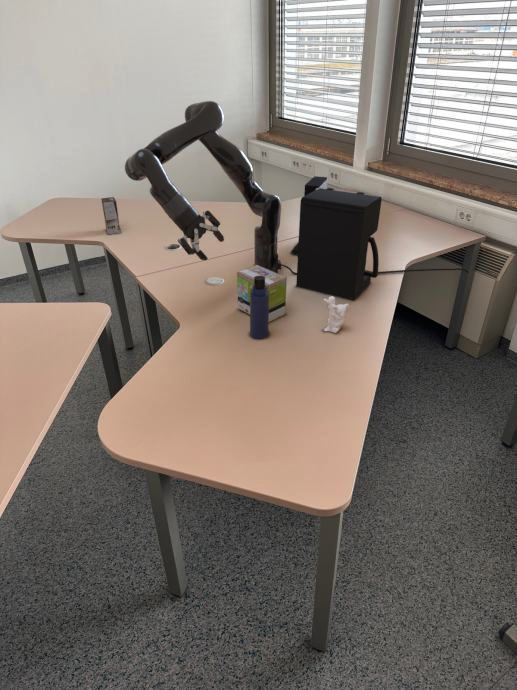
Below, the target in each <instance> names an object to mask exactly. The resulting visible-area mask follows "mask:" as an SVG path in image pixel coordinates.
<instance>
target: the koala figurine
mask: <svg viewBox="0 0 517 690" xmlns="http://www.w3.org/2000/svg"><path fill="white" fill-rule="evenodd" d="M323 301H324V302H325V303H326V304H327V309H328V310H329V313H328V320H327V326H326V327H325V328H324V329H323V331H324V332H331V333H334V334H337V333H338V332H339V331H340V330H341V326H343V325H345V322H346V313H347V310H348V309H349V308H350V303H344V304H342V303H340V304H337V305H336V298H335V296H333V295H330V296H329V297H328V299H327V298H323Z"/></svg>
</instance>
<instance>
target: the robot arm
mask: <svg viewBox="0 0 517 690" xmlns="http://www.w3.org/2000/svg"><path fill="white" fill-rule="evenodd" d="M224 118H225V117H224V111H223V108H222V107H221V105H220V104H219V103H218V102H217V101H213V100H206V101H200V102H194V103H192V104H190V105H188V106H187V107H186V108H185V111H184V120H185V121H184V122H183V123H180V124H179V125H177V126H174V127H172V128H170V129H168V130H166V131H164V132H162V133H161V134H160V135H158V136H157V137H155V138H154V139H153V140H152V141H150V142H149V143H148V144H147V145H146V146H145V147H143V148H141V149H138V150H137V151H135V152H134V153H133V154H132V155H131V156H129V157H128V158H127V159H126V161H125V163H124V172H125V174H126V176H127V177H128V178H129V179H130V180H132V181H137V182H138V181H139V182H140V181H143V180H145V179H147V180H148V182H149V184H150V187H149V191H148V192H149V194H150V195H151V197H152V198H153V199H154V201H156V202H157V203H158V205H159V206H160V207H161V208H162V209H163V211H164V213H165V214H166V215H167V216H168V218H169V219H170V220H171V221H172V222H173V223H174V225H176V227H178V228H179V230H180V231H181V232H182V233H183V235H182V236H181V237H180V238H178V239H177V243H178V244H179V245H180V246H181V247H182V248H183V250H184V251H185V252H186V254H187V255H188V256H192V255H194V254H195V255H196V256H197V257H198V258H199V259H200V261H208V259H209V258H208V256H207V255H206V254H205V253H204V252H203V251H202V249H200V239H202V237H203V236H204V235H206V233H207V232H212V234H213V236H214V237H215V238H216V239H217V240H218V242H220V243H222V242H224V241H225V236H224V235H223V234H222V233H221V231H220V230H219V226H220V225H221V222H220V221H219V220H218V219H217V218H216V217H215V215H214V214H213V213H212V212H211V211H210V210H205V211H203V212H202V214H200V213H199V211H198V210H197V209H196V208H195V207H194V206H193V204H192V203H191V202H190V201H189V200H188V198H187V197H186V196H185V195H184V194H183V193H182V192H181V191H180V190H179V189H178V188H177V187H176V186H175V185H174V183H173V181H171V180H170V178H169V176H168V174H167V172H166V170H165V168H164V166H163V165H164V164H167V163H169V161H171V160H172V159H173V158H175V157H176V156H178V154H180V153H181V152H182V151H183V150H185V149H186V148H188V147H189V146H191V145H192V144H194V143H196V142H197V141H199V142H200V143H201V144H202V145H203V146H204V147H205V148H206V149H207V150H208V151H209V152H208V153H210V154H211V156H212V158H213V159H214V160H215V161H216V162H217V163H218V165H219V166H220V167H221V169H222V170H223V172H224V173H225V174H226V176H227V177H228V178H229V180H230V181H231V183H233V185H234V186H235V188H237V190H238V191H239V192H240V194H241V195H242V197H243V198H244V200H245V202H246V204H247V205H248V207H249V209H250V210H251V212H252V213H253V214H254V215H256V216H258V217H261V224H257V225H256V226H254V233H253V235H254V236H253V237H254V238H253V239H254V240H253V241H254V243H253V244H254V247H253V249H254V258H253V259H254V262H253V266H255V265H258V266H261V267H263V268H265V269H268V270H270V271H273V272H275V273H277V274H279V270H282V267H284V268H286V269H287V270H289V271H290V273H291V274H293V275H296V276H297V272H295V271H293V269H291V267H289V266H288V265H285V264H283V263H282V262H281V259H279V253H278V236H279V235H278V233H279V229H280V226H281V217H282V203H281V199H280V197H279V196H278V195H276V194H273V193H269V192H267V191H265V190H263V189H262V188H261V187H260V185H259V184H258V183H257V181H256V180H255V176H254V169H253V165H252V162H251V161H250V160H249V159H248V157H247V156H246V153H245V152H244V151H243V150H242V149H241V148H240V147H239V146H237V145H236V144H234V143H233V142H231V141H230V140H228V139H227V138H225V137H224V136H222V135H221V134H220V133H219V130H220V129H221V128H222V126H223V124H224ZM206 220H208V221H209V223H210V224H207V223H206ZM188 239H189V241H190V244H189V243H188ZM424 271H426V272H428V271H464V272H465V273H470V271H469V270H468V269H466V268H463V267H457V268H455V267H454V268H449V267H448V268H447V267H445V268H417V269H416V268H413V269H398V270H385V271H378V274H390V273H405V272H406V273H407V272H424Z"/></svg>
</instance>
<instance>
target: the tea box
mask: <svg viewBox="0 0 517 690" xmlns="http://www.w3.org/2000/svg"><path fill="white" fill-rule="evenodd" d="M255 276H264V277H265V286H267V291H268V292H269V323H270V322H272V321H274V320H276V319H278V318H281V317H282V316H285V315H286V307H287V306H286V305H287V285H288V284H287V283H288V282H287V280H288V277H287V276H285V275H282V274H279V273H278V274H277V273H275V272H273V271H270V270H268V269H265V268H263V267H261V266H258V265H255V266H254V265H253V266H251V267H248V268H246V269H243V270H240V271H238V272H236V282H237V283H236V285H237V309H238V310H240V311H242V312H245V313H246V314H248V315H250V292H251V291H252V287H253V286H254V277H255Z"/></svg>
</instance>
